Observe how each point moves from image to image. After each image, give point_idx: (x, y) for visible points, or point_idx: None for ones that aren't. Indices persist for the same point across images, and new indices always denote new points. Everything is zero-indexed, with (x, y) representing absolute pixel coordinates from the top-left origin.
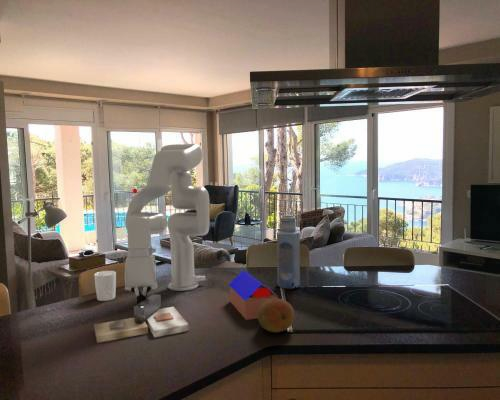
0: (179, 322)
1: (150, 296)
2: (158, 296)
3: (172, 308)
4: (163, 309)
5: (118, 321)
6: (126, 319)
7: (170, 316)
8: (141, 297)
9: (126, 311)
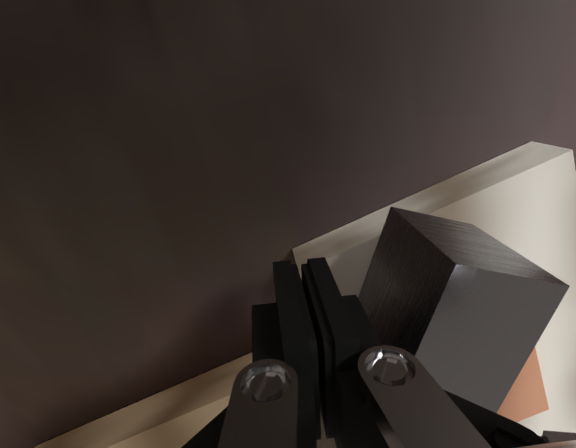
0: None
1: (433, 346)
2: (535, 340)
3: (557, 201)
4: (477, 222)
5: (168, 444)
6: (213, 413)
7: (532, 395)
8: (330, 431)
9: (74, 82)
